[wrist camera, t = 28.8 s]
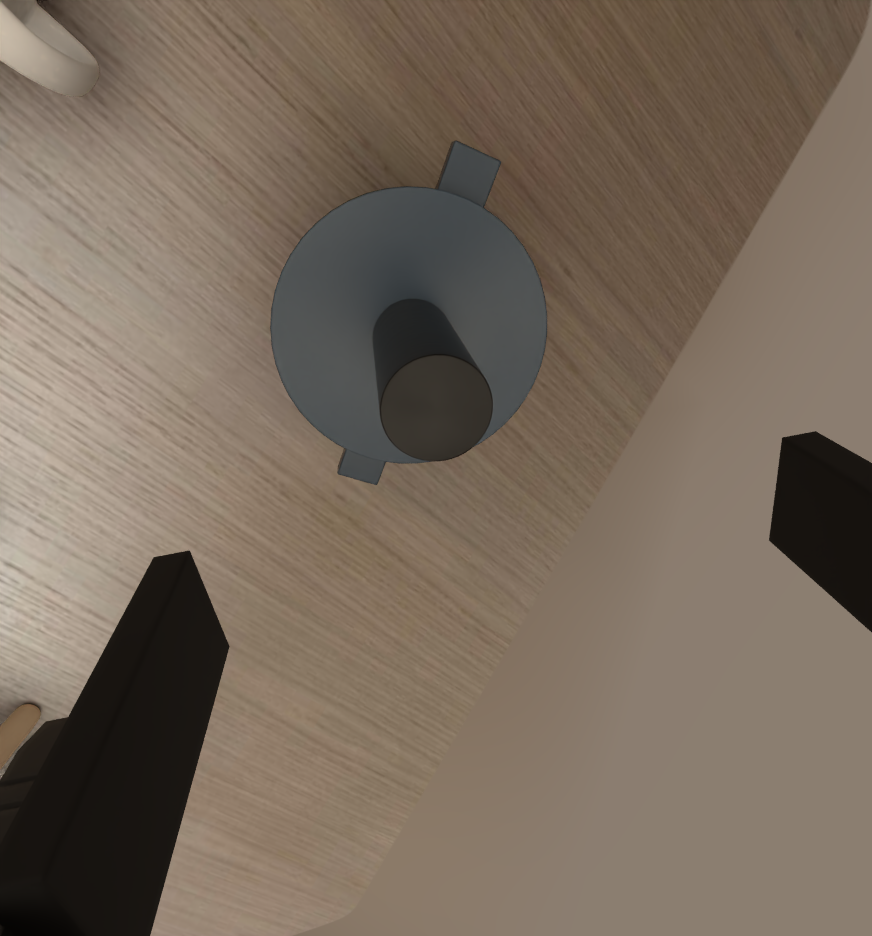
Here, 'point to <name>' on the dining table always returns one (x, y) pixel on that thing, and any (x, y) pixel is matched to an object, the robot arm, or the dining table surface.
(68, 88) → the mug
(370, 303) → the lid
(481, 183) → the pot
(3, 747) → the planter
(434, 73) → the dining table surface
